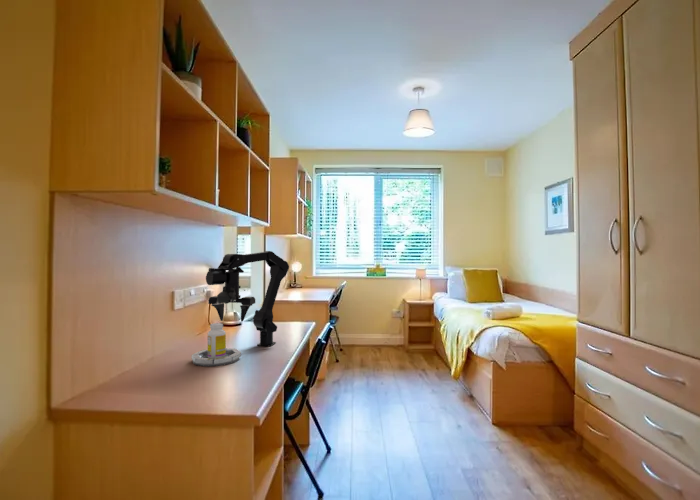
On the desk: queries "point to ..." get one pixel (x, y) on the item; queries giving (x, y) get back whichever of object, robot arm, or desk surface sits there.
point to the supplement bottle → (216, 341)
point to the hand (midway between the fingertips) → (231, 321)
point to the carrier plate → (203, 360)
